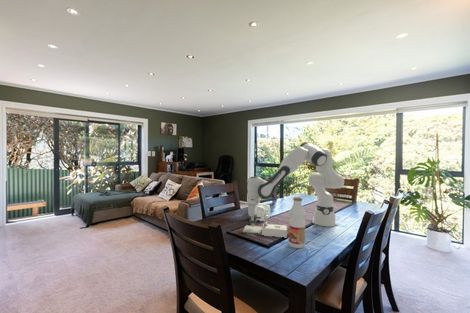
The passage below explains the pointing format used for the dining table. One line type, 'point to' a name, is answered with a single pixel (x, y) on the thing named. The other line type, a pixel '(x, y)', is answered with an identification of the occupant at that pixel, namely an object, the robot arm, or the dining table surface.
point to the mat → (252, 229)
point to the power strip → (274, 230)
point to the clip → (265, 218)
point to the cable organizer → (262, 211)
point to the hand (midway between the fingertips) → (253, 219)
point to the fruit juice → (297, 224)
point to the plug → (254, 220)
